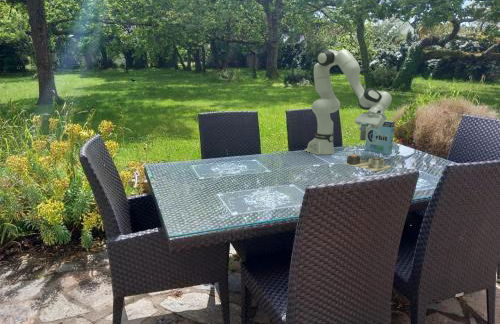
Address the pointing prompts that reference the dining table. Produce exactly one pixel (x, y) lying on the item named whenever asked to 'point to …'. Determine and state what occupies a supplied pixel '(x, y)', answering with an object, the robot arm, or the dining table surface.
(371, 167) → the organiser
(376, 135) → the gum box
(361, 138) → the marker
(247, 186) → the dining table surface
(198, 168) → the dining table surface
